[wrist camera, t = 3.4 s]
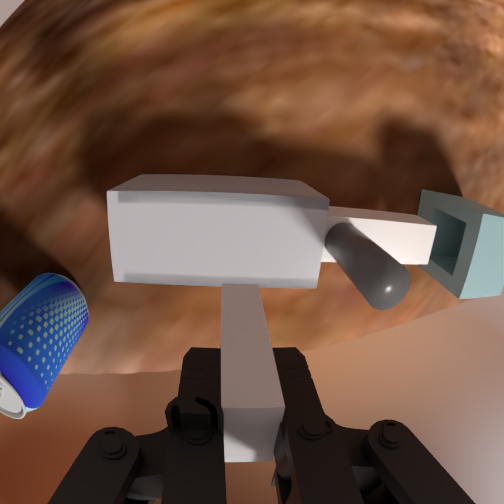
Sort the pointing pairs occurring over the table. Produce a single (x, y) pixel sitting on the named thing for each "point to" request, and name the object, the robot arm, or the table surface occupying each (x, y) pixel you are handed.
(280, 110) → the table surface
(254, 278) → the white rectangular box
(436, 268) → the socket block
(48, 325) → the beer can
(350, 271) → the sliding bolt with handle
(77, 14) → the table surface
